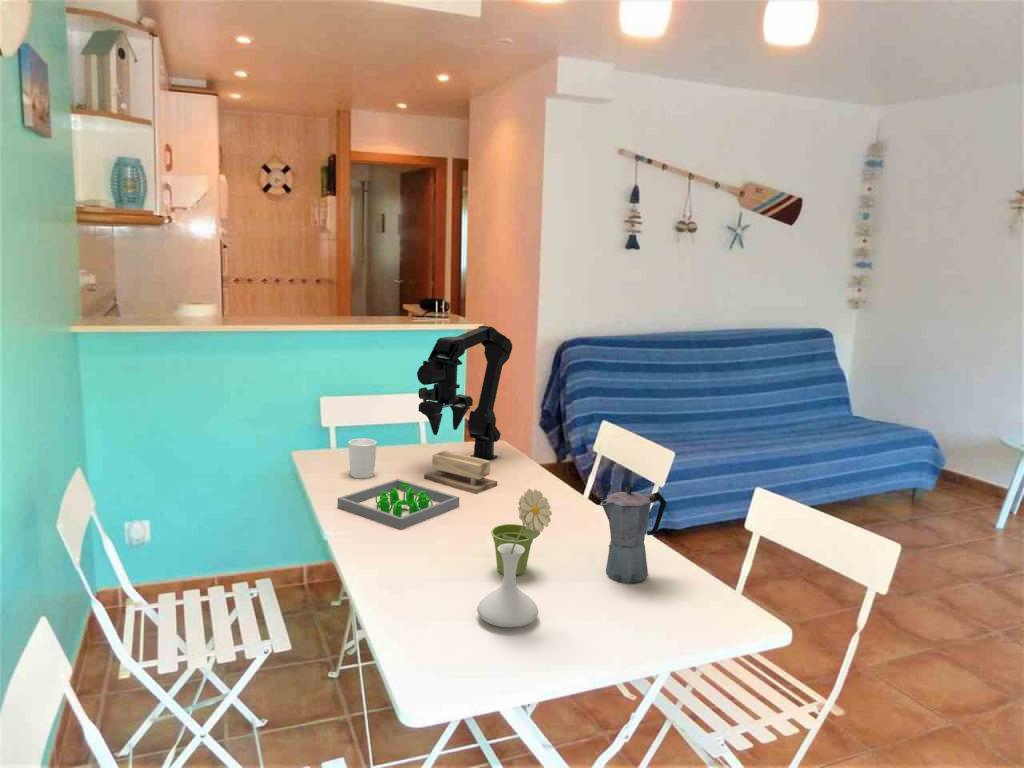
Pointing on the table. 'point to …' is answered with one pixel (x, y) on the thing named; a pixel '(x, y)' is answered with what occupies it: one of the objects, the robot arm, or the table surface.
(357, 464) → the white cup
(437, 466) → the beige wooden block
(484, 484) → the peg stand
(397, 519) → the toy tray rim
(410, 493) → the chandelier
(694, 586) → the table surface
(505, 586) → the flower in vase
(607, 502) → the moka pot
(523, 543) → the plant pot
